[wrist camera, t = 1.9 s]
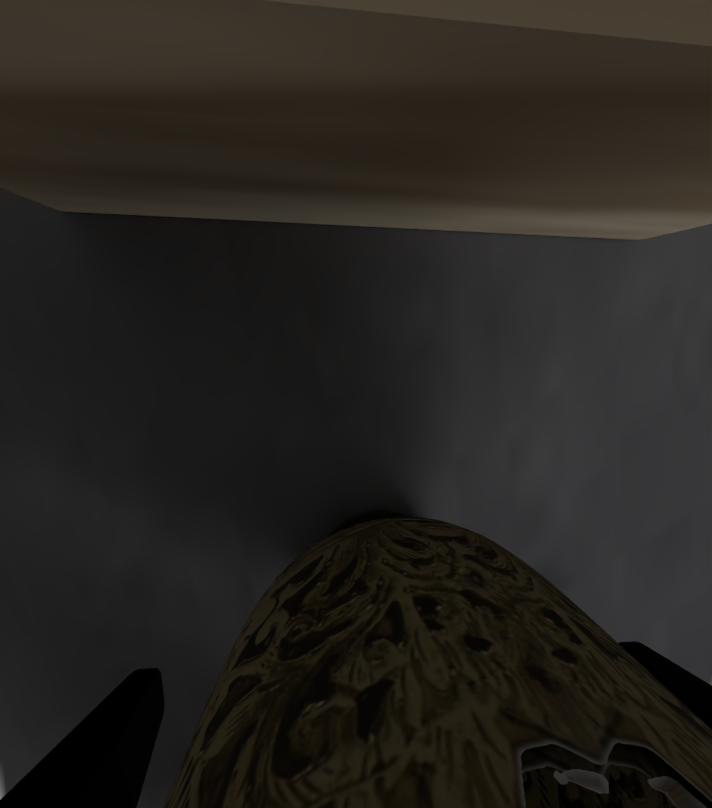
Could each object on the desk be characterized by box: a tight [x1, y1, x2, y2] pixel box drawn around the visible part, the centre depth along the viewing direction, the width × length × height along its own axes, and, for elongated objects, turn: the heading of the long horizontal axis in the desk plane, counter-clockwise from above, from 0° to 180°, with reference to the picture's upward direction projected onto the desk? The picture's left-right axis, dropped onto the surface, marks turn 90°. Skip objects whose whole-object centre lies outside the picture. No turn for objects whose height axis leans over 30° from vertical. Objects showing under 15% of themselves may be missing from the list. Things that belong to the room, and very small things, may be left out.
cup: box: [164, 510, 712, 808], centre depth 6 cm, size 8×7×8 cm
